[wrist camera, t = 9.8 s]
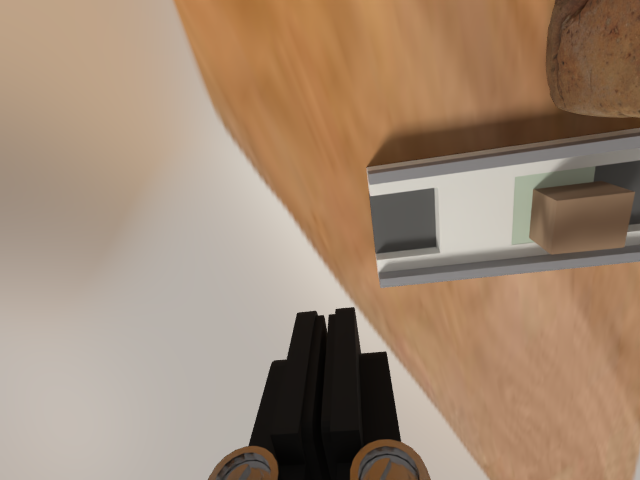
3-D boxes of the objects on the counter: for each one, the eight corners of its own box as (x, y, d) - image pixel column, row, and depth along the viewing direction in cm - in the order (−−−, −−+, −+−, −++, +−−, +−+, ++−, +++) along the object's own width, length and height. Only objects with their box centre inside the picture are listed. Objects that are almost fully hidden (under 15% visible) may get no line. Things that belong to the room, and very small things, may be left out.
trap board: (366, 167, 35) (368, 174, 32) (662, 124, 32) (697, 127, 28) (377, 272, 39) (380, 287, 36) (638, 244, 36) (666, 258, 33)
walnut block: (533, 189, 33) (556, 200, 29) (601, 180, 32) (635, 191, 28) (529, 237, 35) (551, 254, 31) (593, 231, 34) (624, 247, 30)
